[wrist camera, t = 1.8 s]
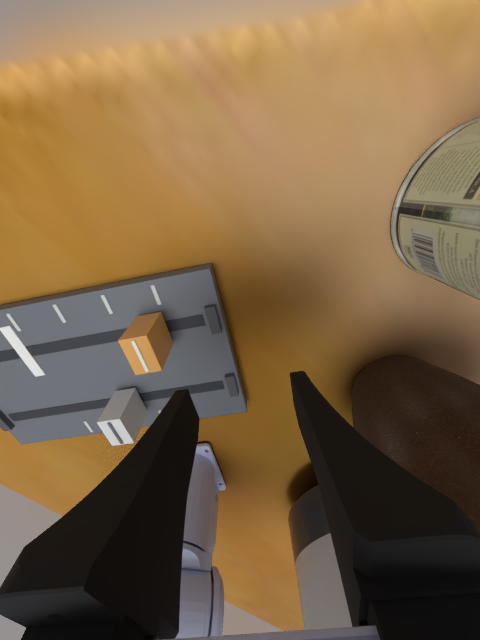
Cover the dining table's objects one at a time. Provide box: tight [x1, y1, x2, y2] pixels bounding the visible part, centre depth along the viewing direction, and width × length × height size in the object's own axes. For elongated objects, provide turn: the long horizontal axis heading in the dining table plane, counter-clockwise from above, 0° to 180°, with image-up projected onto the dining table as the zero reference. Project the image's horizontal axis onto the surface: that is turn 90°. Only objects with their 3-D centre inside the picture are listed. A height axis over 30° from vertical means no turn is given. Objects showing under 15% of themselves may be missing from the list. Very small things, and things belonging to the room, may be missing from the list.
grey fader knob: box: [96, 388, 147, 446], centre depth 22 cm, size 3×2×4 cm, turn 11°
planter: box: [288, 485, 352, 630], centre depth 27 cm, size 19×19×18 cm
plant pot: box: [352, 356, 480, 531], centre depth 18 cm, size 15×15×16 cm
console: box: [0, 263, 247, 444], centre depth 23 cm, size 15×25×2 cm, turn 101°
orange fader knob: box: [118, 312, 173, 375], centre depth 19 cm, size 3×2×4 cm, turn 11°
